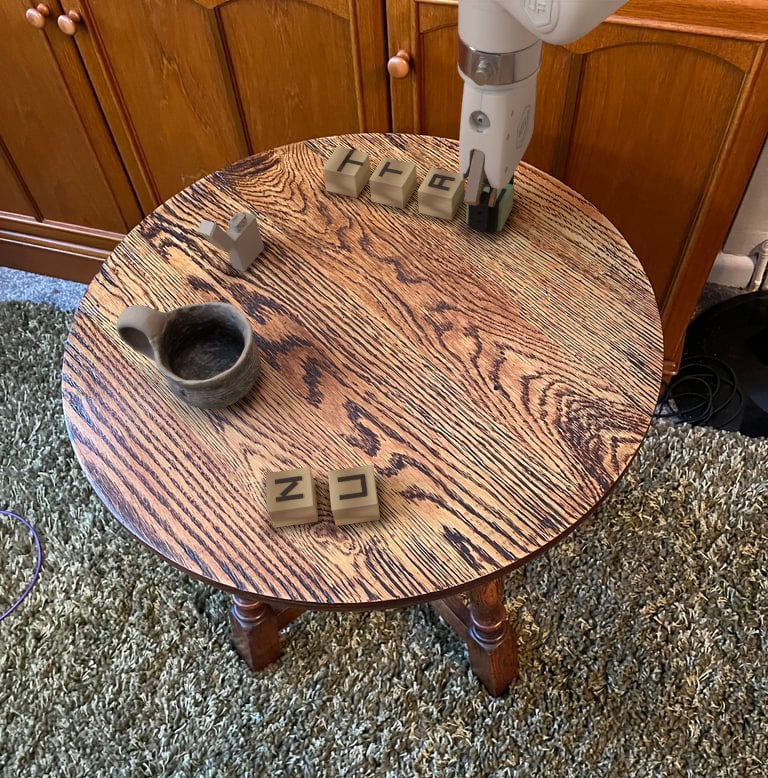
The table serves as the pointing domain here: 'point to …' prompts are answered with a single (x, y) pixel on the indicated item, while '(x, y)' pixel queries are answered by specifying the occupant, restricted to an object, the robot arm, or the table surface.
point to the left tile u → (353, 495)
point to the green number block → (500, 202)
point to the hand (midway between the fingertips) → (490, 213)
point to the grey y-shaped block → (236, 239)
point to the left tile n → (291, 497)
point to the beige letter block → (347, 171)
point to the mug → (196, 350)
